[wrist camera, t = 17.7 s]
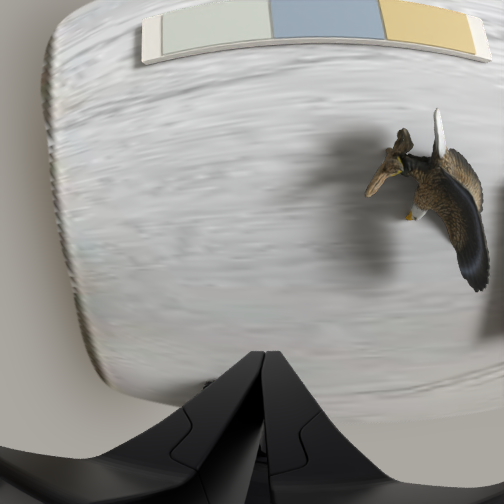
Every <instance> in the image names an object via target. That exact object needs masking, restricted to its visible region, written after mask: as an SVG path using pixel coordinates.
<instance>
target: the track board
mask: <svg viewBox="0 0 504 504" xmlns="http://www.w3.org/2000/svg"><path fill="white" fill-rule="evenodd" d="M305 43H344V44H367V45H381V46H392V47H401V48H410V49H418V50H425V51H431V52H437V53H443V54H448V55H454V56H459V57H463V58H468V59H472V60H477V61H481V62H485V63H488V62H490V61H492V57H491V53H490V49H489V45H488V41H487V37H486V33H485V30H484V26H483V23H482V19H480V18H477V17H473V16H470V15H466V14H463V13H460V12H456V11H452V10H447V9H443V8H439V7H434V6H429V5H424V4H419V3H413V2H407V1H400V0H229V1H222V2H215V3H210V4H204V5H199V6H194V7H189V8H184V9H179V10H175V11H171V12H167V13H163V14H160V15H156V16H152V17H149V18H145V19H142V62H143V63H144V64H146V65H149V64H153V63H157V62H162V61H166V60H171V59H175V58H180V57H185V56H191V55H196V54H202V53H208V52H215V51H221V50H229V49H237V48H246V47H255V46H267V45H281V44H305Z"/></svg>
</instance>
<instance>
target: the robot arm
mask: <svg viewBox="0 0 504 504" xmlns="http://www.w3.org/2000/svg"><path fill="white" fill-rule="evenodd" d="M0 504H504V482H502V483H499V484H495V485H491V486H485V487H477V488H457V487H442V486H430V485H421V484H412V483H404V482H400V481H397V480H395V479H393V478H391V477H389V476H388V475H386V474H385V473H384V472H382V471H381V470H380V469H379V468H378V467H377V466H375V465H374V464H373V463H372V462H371V461H370V460H369V459H368V458H367V457H365V456H364V455H363V454H362V453H361V452H360V451H359V450H358V449H357V448H356V447H355V446H354V445H353V444H352V443H350V442H349V440H348V439H347V438H346V437H344V435H343V434H342V433H341V432H340V431H339V430H338V429H337V428H336V427H335V425H334V424H333V423H332V422H331V420H330V419H329V418H328V416H327V415H326V414H325V412H324V411H323V410H322V408H321V407H320V406H319V404H318V403H317V402H316V400H315V399H314V398H313V396H312V395H311V393H310V392H309V391H308V389H307V388H306V386H305V385H304V384H303V382H302V381H301V380H300V378H299V377H298V375H297V374H296V373H295V371H294V370H293V368H292V367H291V366H290V364H289V363H288V361H287V360H286V359H285V357H284V356H283V354H282V353H281V352H280V351H267V352H266V353H265V352H264V351H251V352H249V353H248V354H247V355H246V356H245V357H243V358H242V359H241V360H240V361H239V362H237V363H236V364H235V365H234V366H232V367H231V368H230V369H229V370H228V371H226V372H225V373H224V374H223V375H221V376H220V377H219V378H218V379H216V380H215V381H214V382H208V383H206V384H205V385H204V388H203V391H201V392H200V393H199V394H197V395H196V396H195V397H194V398H192V399H191V400H190V401H188V402H187V403H186V404H184V405H183V406H182V408H179V409H178V410H176V411H175V412H174V413H172V414H171V415H170V416H168V417H167V418H165V419H164V420H163V421H161V422H160V423H158V424H156V425H155V426H153V427H152V428H150V429H148V430H147V431H145V432H143V433H141V434H140V435H138V436H136V437H134V438H132V439H131V440H129V441H127V442H125V443H123V444H121V445H119V446H118V447H116V448H114V449H112V450H110V451H108V452H106V453H104V454H102V455H100V456H96V457H93V458H88V459H73V458H64V457H56V456H49V455H42V454H36V453H30V452H25V451H19V450H14V449H10V448H6V447H2V446H0Z"/></svg>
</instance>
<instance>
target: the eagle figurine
mask: <svg viewBox="0 0 504 504" xmlns="http://www.w3.org/2000/svg"><path fill="white" fill-rule="evenodd" d="M434 132H435V141H434V145H433V152H432V156H431V157H425V156H423V157H418V156H413V155H411V154H408V155H407V154H406V153H407V152H409V151H410V150H411V149H412V148H413V146H414V144H413V143H412V141H411V138H410V134H409V132H408V130H407V129H405V128H402V129H401V130H399V131H398V133H397V137H398V139H397V141H396V142H395V144H394V147H393V149H392V148H387V149H386V152H387V154H388V155H387V156H386V158H385V160H384V162H383V163H382V165H381V166H380V167H379V169H378V170H377V172H376V174H375V176H374V177H373V179H372V181H371V182H370V184H369V185H368V187H367V189H366V192H365V195H364V196H365V197H371V196H372V195H374V194H375V193H376V192H377V190H378V189H379V187H380V186H381V185H382V184H383V183H384V180H385V179H386V178H388V177H392V176H395V175H397V174H401V175H403V176H405V177H409V176H411V177H413V178H414V179H415V180H416V181H418V183H419V184H418V186H417V189H416V191H415V195H414V202H413V207H412V209H411V212H410V214H409V215H408V216H406V219H407V220H415V221H417V220H419V219H420V218H422V217H423V216H424V214H425V213H426V212H427V211H428V210H429V209H432V210H434V211H436V213H437V214H438V215H439V216H440V217H441V218H442V219H443V221H444V222H445V225H446V227H447V230H448V233H449V237H450V240H451V243H452V245H453V247H454V248H455V250H456V253H457V260H458V264H459V268H460V271H461V274H462V276H463V278H464V279H466V280H467V281H468V283H469V285H470V286H471V287H472V288H473V289H474V291H475V292H478V291H479V290H480V291H483V290H484V288H486V284H489V278H488V277H489V275H490V273H489V269H490V265H489V262H490V259H489V251H488V247H487V241H486V236H485V233H484V227H483V224H482V219H481V214H480V213H481V212H482V211H483V207H482V203H483V193H482V187H481V182H480V180H479V179H478V176H477V174H476V173H475V172H474V170H473V169H472V167H471V165H470V164H469V163H468V162H467V160H466V159H465V158H464V157H463V155H461V154H460V153H459V152H457V151H456V150H455V149H449V150H448V149H447V146H446V141H445V136H444V131H443V126H442V121H441V116H440V111H439V109H438V108H436V110H435V112H434Z"/></svg>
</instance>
